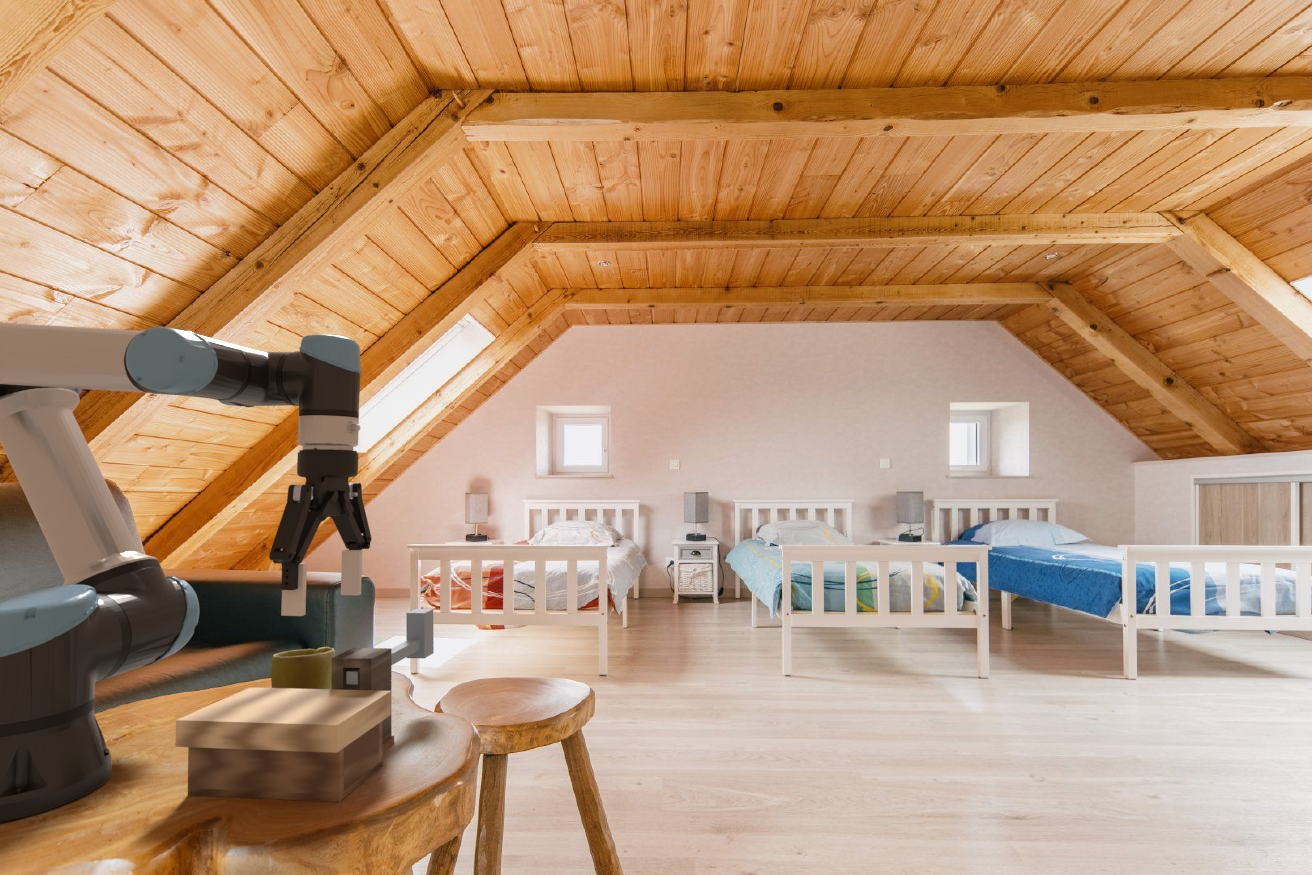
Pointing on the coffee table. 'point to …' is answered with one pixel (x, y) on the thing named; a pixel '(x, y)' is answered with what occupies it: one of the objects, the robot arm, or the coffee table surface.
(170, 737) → the coffee table surface
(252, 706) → the lid
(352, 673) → the sliding bolt
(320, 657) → the mug
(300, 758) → the toolbox
